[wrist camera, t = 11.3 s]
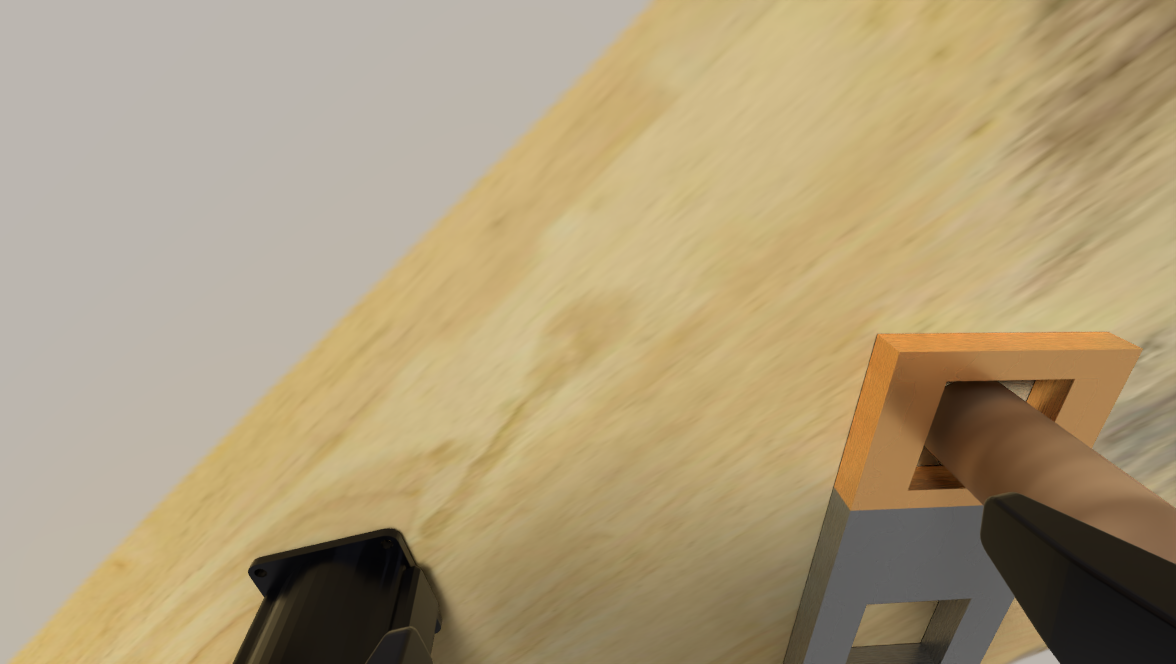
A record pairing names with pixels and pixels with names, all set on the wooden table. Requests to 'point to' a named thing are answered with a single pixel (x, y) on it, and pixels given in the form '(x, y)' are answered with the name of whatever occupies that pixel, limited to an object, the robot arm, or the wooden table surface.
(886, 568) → the rail
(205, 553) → the wooden table surface
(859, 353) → the wooden table surface
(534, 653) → the wooden table surface
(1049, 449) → the peg
